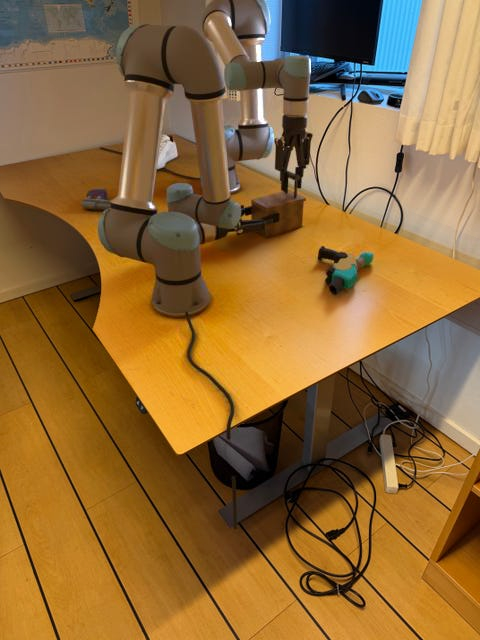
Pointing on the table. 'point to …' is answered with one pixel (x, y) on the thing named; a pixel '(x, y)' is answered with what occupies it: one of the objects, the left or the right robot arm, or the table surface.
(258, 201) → the lid
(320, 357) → the table surface
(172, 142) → the sneaker
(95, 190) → the toy gun
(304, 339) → the table surface
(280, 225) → the chest
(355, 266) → the toy gun
